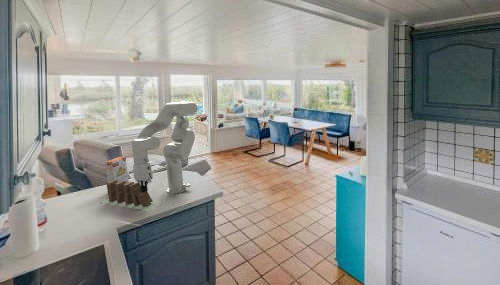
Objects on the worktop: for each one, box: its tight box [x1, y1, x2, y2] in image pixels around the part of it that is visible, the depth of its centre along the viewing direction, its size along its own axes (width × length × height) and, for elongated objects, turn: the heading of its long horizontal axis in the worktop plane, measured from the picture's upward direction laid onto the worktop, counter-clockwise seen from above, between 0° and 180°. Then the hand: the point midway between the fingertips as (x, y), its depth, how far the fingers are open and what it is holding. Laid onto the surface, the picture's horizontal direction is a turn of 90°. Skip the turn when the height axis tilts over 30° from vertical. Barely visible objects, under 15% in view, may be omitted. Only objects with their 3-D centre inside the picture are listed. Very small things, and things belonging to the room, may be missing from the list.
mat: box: [99, 197, 164, 212], centre depth 166 cm, size 38×12×1 cm, turn 68°
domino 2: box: [115, 181, 126, 203], centre depth 167 cm, size 2×6×12 cm, turn 158°
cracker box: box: [105, 156, 129, 183], centre depth 190 cm, size 14×6×21 cm, turn 168°
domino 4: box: [129, 181, 141, 206], centre depth 163 cm, size 2×6×12 cm, turn 156°
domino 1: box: [106, 180, 118, 202], centre depth 170 cm, size 2×6×12 cm, turn 158°
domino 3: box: [123, 181, 135, 205], centre depth 165 cm, size 2×6×12 cm, turn 158°
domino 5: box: [133, 185, 153, 207], centre depth 161 cm, size 2×6×12 cm, turn 158°
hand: (144, 191), depth 160 cm, fingers closed
